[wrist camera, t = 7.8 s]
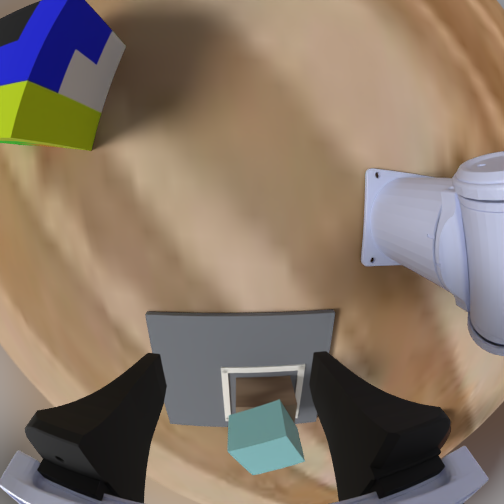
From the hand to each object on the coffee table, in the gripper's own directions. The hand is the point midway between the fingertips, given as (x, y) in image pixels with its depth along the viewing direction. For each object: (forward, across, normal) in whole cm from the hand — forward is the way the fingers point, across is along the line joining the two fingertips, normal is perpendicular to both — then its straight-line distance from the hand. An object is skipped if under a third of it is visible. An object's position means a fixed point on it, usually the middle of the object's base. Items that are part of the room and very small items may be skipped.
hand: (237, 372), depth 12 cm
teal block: (+6, -2, +11) cm, 12 cm away
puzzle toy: (+11, +16, -18) cm, 26 cm away
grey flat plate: (+10, 0, +9) cm, 14 cm away
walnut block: (+10, -2, +11) cm, 15 cm away
